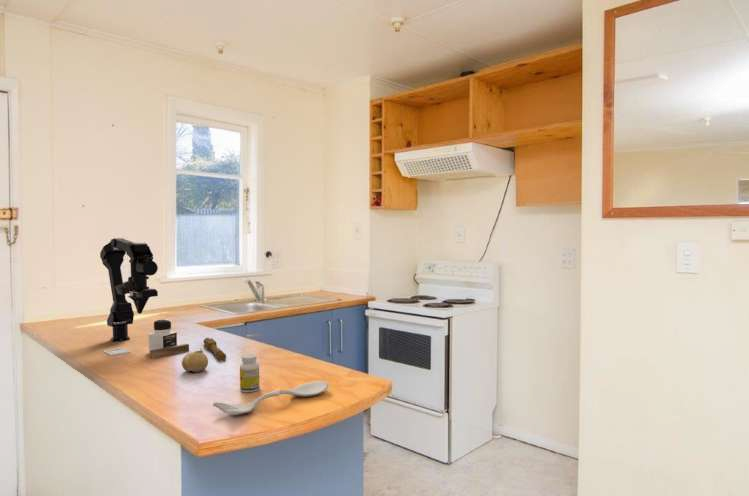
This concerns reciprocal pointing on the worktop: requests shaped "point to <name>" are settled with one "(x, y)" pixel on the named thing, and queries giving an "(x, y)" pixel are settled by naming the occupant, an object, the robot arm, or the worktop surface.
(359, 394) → the worktop surface
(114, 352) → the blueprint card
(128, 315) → the robot arm
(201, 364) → the onion
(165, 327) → the medicine bottle
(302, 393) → the spoon
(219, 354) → the tap handle
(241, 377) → the supplement bottle
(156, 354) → the stop bar
